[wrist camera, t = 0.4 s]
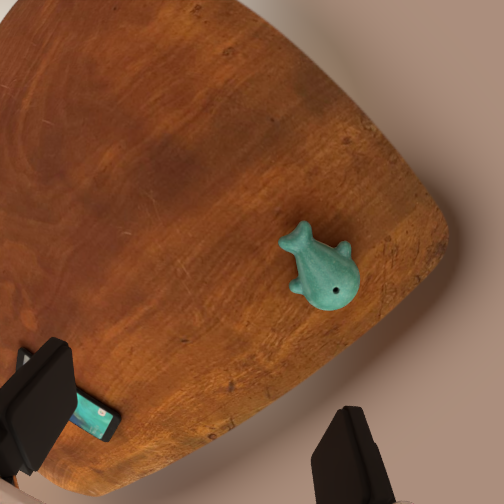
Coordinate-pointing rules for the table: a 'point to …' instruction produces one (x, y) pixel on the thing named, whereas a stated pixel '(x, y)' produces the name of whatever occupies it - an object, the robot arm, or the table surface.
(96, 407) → the smartphone
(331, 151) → the table surface
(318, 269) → the whale figurine
